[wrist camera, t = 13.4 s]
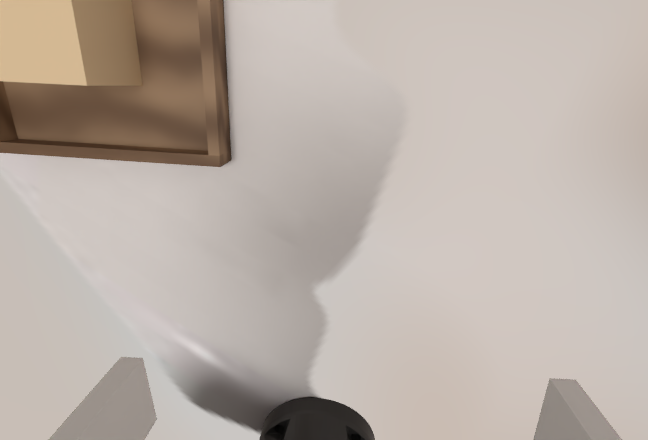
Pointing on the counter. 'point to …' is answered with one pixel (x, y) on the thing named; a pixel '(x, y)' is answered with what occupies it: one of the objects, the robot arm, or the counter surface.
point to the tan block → (69, 42)
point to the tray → (136, 98)
